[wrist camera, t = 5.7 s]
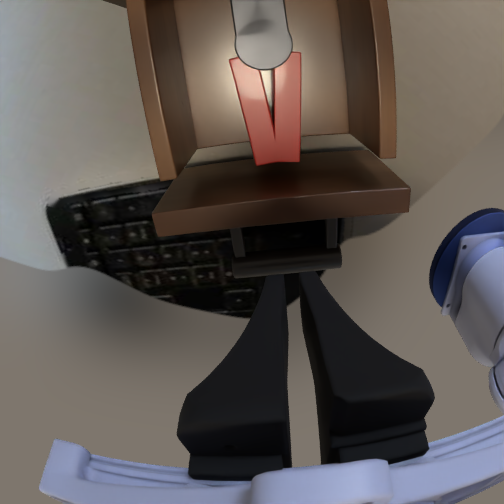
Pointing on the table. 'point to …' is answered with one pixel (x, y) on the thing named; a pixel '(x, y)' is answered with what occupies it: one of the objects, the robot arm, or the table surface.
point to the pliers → (282, 79)
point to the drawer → (233, 124)
